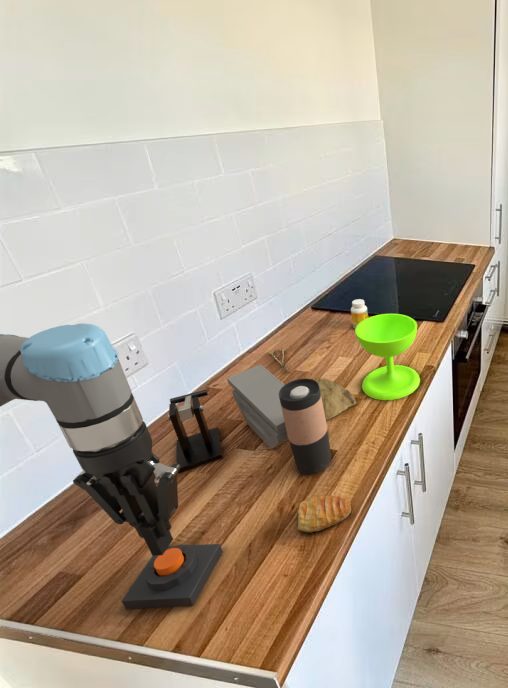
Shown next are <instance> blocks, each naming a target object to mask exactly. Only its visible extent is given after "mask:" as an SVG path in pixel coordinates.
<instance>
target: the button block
mask: <svg viewBox="0 0 508 688" xmlns="http://www.w3.org/2000/svg"><path fill="white" fill-rule="evenodd" d="M171 548H178V549H180V550H181V552H182V554H183V556H184V563H183V565H182V566H181V567H180V568H179V569H178V570H177V571H176V572H174V573H173V574H170V575H168V576H160V575H158V573H157V571H156V569H155V567H154V562H155V560H156V558H157V557H158V556H159V555H155V556H152V555H151V557H150V559H149V560H148V561H147V563H146V564H145V566H144V567H143V568H142V570H141V571H140V573H139V574H138V576H137V577H136V579H135V580H134V581H133V582H132V584H131V586H130V587H129V589H128V590H127V592H126V594H125V595H124V596H123V598H122V599H121V603H122V605H123V607H124V608H125V610H136V609H155V608H174V607H175V608H176V607H193V606H195V603H196V602H197V600H198V598H199V597H200V595H201V592H202V591H203V589H204V587H205V585H206V584H207V582H208V580H209V578H210V576H211V574H212V572H213V571H214V569H215V567H216V565H217V563H218V561H219V560H220V558H221V556H222V554H223V552H224V551H223V548H222V545H221V544H220V543H210V544H209V543H208V544H207V543H206V544H177V545H169V546H168V548H167V549H166V550H168V549H171Z"/></svg>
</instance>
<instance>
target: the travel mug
mask: <svg viewBox="0 0 508 688" xmlns="http://www.w3.org/2000/svg"><path fill="white" fill-rule="evenodd" d="M279 399H280V403H281V408H282V413H283V417H284V422H285V426H286V431H287V435H288V440H287V441H288V443H289V447H290V450H291V454H292V458H293V460H294V464H295V468H296V469H297V471H298V472H299V473H300V474H302V475H314V474H317V473H320V472H322V471H323V470H325V469H326V468H327V467H328V466H329V465H330V463H331V462H332V461H331V460H332V453H331V452H332V451H331V446H330V445H331V444H330V439H329V438H330V437H329V431H328V424H327V420H326V419H325V414H324V408H323V403H322V398H321V393H320V387H319V384H318V382H317V381H316V379H313V378H298V379H294V380H291V381H288V382H287V383H284V386H283V387H282V388H281V389H280V391H279Z"/></svg>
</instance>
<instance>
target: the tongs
mask: <svg viewBox="0 0 508 688" xmlns="http://www.w3.org/2000/svg"><path fill="white" fill-rule="evenodd" d="M278 350H279V351H280V352H282V359H281V361H280V360H279V359H278V358H277V357H276V356H275V355H274V352H275V349H274V350H272V351H269V352H268V353H269V355H270V356H271V357H273V359H274V360H275V361H276V362H277V363H278V364H279V365H280V367H281V368H282V370H283V371H284V373H286V372H287V371H286V367H285V348H284V347H283V348H281V349H280V348H278Z"/></svg>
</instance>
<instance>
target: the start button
mask: <svg viewBox="0 0 508 688" xmlns="http://www.w3.org/2000/svg"><path fill="white" fill-rule="evenodd" d="M183 563H184V556H183V554H182V552H181V550H180V549H178V548H171V549H168V550H166V551H165V552H164V554H163V555H159V556H158V557H157V558H156V560H155V562H154V567H155V569H156V571H157V573H158V575H160V576H168V575H170V574H173V573H174V572H176V571H177V570H178V569H179V568H180V567H181V566H182V565H183Z"/></svg>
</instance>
